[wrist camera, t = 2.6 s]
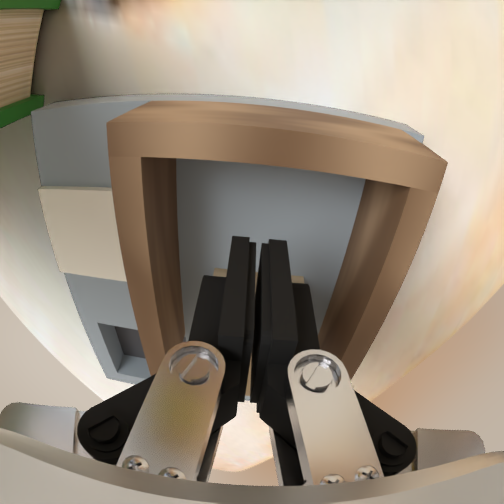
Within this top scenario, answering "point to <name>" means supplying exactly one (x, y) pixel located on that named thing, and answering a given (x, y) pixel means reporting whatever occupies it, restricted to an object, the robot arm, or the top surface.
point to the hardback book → (19, 56)
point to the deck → (182, 218)
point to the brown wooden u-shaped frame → (274, 154)
